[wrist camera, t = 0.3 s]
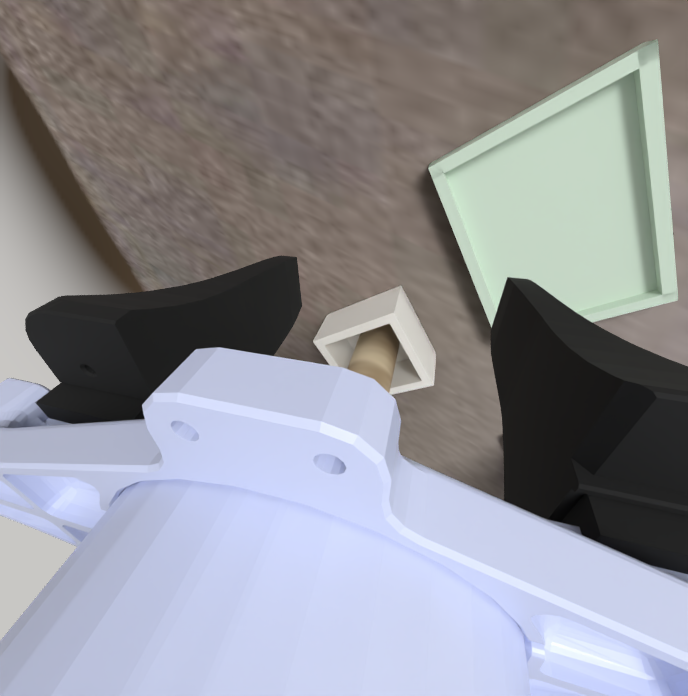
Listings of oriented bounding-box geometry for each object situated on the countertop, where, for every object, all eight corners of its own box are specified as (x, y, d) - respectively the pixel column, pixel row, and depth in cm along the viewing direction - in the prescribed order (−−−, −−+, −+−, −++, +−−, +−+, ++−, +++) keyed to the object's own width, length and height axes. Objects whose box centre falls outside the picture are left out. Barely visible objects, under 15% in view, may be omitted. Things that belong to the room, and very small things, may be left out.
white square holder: (436, 353, 25) (433, 385, 22) (365, 372, 28) (356, 402, 26) (401, 285, 22) (394, 312, 20) (327, 314, 26) (312, 341, 23)
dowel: (406, 348, 25) (388, 448, 18) (371, 358, 26) (342, 454, 19) (389, 316, 23) (362, 411, 17) (353, 328, 25) (315, 421, 18)
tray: (667, 289, 19) (678, 300, 18) (496, 335, 23) (498, 346, 22) (644, 42, 13) (657, 39, 12) (429, 163, 18) (428, 168, 17)
